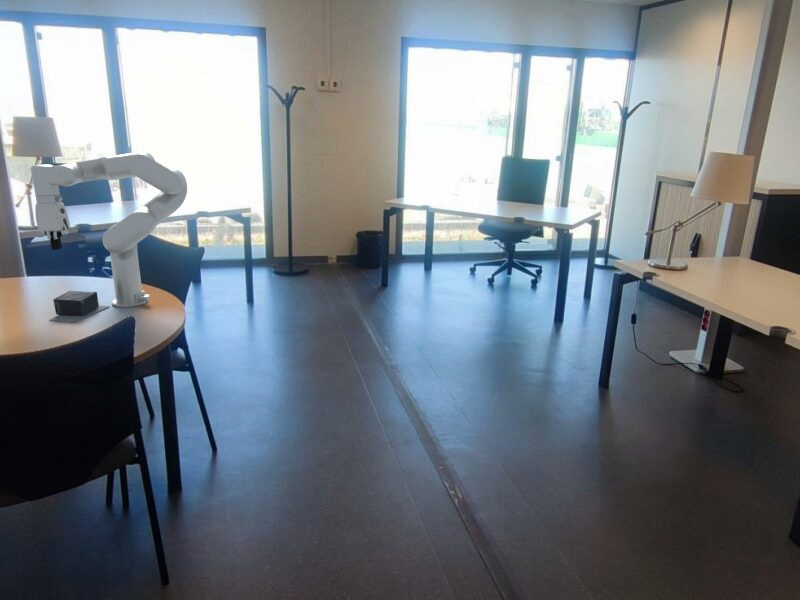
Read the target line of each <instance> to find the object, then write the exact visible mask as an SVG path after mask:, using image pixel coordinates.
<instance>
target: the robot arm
mask: <svg viewBox="0 0 800 600" xmlns="http://www.w3.org/2000/svg"><path fill="white" fill-rule="evenodd" d="M30 172H31V173H30V174H31V179H32V184H33V190H34V194H35V195H34V197H35V202H36V203H35V205H34V207H35V209H34V210H35V211H34V212H35V219H36V220H35V222H36V227H37V229H38V230H39V233H41V234H44V235H45V236H46V237H47V238H48V240H49V241H50V247H51V250H53V251H54V250H55V251H58V250H60V249H61V250H62V248H63V246H62V241H61V238H63V236H64V235H67V234H69V229H71V225H70V220H69V219H70V218H69V214H68V212H67V209H66V206H65V204H64V203H63V202H62V201H63V200H64V198H63V197H62V196H61V193H60V188H59V186H62V187H72V186H73V185H76V184H79V183H80V184H81V183H84V182H85V183H86V182H90V181H91V182H92V181H99V180H100V181H101V180H105V181H106V180H107V181H117V180H122V179H128V178H134V177H136V178H138V179H140V180H141V181H142V182H145V183H146V184H148V185H150V186H152V187H154V188H155V189H156V190H159V191H160V193H158V194H157V195H156V196H154V197H153V198H151V200H149V201H147V202H146V203H145V204H144V205H141V206H140V207H139V208H136V209H134V210H133V211H132V212H131V213H130V214H128V215H127V216H126V217H124V218H123V219H122V220H120V221H119V222H118V223H115V224H113V225H112V226H110V227H109V228H108V229H107V230H106V231H105V232H104V233H103V235H102V243H103V244H102V245H103V246H104V248H105V249H106V250H107V251H108V252H110V253H109V256H110V263H111V271H112V279H113V286H114V294H115V299H113V300H112V301H111V304H112V306H114V307H117V308H133V307H138V306H143V305H145V304H146V303H148V302H149V301H150V300H151V294H146V291H145V290H143V287H142V280H141V270H140V264H139V253H138V244H139V243H140V242H141V241H142V240H144V239H145V238H146V237H148V236H150V234H152V233H153V232H154V230H155V229H156V227H157V226H158V225H159V224H161V223H162V222H163V221H165V220H167V218H169V217H170V216H171V215H172V214H174V213H175V212H176V211H178V209H179V208H180V207H181V206H182V205H183V204H184V201H185V200H186V197H187V194H188V183H187V179H186V176H185V175H184V174H183V172H182V171H180V170H178V169H175V168H171V169H170V168H168V167H166V166H164V165H162V164H161V163H159V162H158V161H156V159H155V158H154V156H153V155H152V154H151V153H149V152H146V151H137V152H128V153H123V154H116V155H115V154H114V155H108V156H102V157H100V158H95V159H89V160H82V161H74V162H68V163H64V164H60V165H53V164H46V163H45V164H42V163H41V164H33V165H32V166H30Z"/></svg>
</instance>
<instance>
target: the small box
mask: <svg viewBox="0 0 800 600" xmlns="http://www.w3.org/2000/svg"><path fill="white" fill-rule="evenodd" d="M53 306H54V309H55V315H56V316H58V315H74V316H84V315H86V314H88V313H89V312H91V311H92V310H94V309H96V308H97V307H99V306H100V304H99V298H98V291H79V290H69V291H67V292H65V293H63V294H61V295H59V296H57V297H55V298H54V299H53Z"/></svg>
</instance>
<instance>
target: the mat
mask: <svg viewBox="0 0 800 600" xmlns="http://www.w3.org/2000/svg"><path fill="white" fill-rule="evenodd" d="M109 308H110V306H109V305H99V307H97V308H96V309H94V310H92V311H91V312H89V313H88V314H86V315H84V316H74V315H56V316H54V317H51V318H49V319H48V321H49V322H50V321H51V322H59V323H69V324H76V323H79V322H81V321H83V320H84V319H87V318H90V317H91V316H94V315H96V314H98V313H100V312H102V311H105V310H107V309H109Z"/></svg>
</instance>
